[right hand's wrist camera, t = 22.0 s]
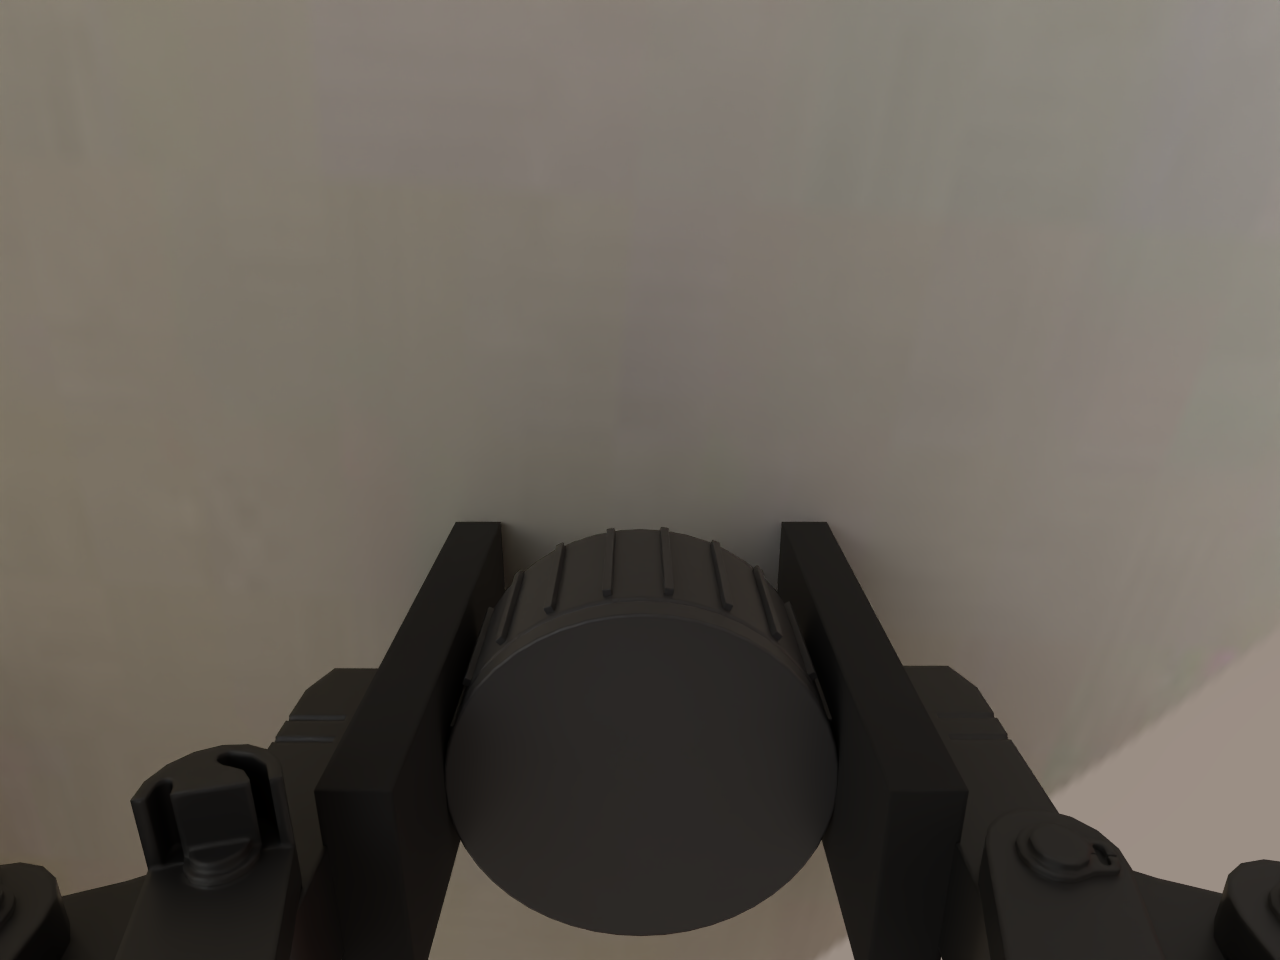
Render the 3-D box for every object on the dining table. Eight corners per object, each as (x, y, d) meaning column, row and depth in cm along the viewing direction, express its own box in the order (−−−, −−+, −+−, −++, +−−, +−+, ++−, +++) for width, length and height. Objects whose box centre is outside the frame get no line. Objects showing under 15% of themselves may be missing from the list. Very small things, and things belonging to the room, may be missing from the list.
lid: (485, 501, 12) (447, 583, 9) (839, 544, 12) (889, 635, 10) (462, 790, 13) (427, 921, 11) (773, 823, 14) (801, 957, 11)
